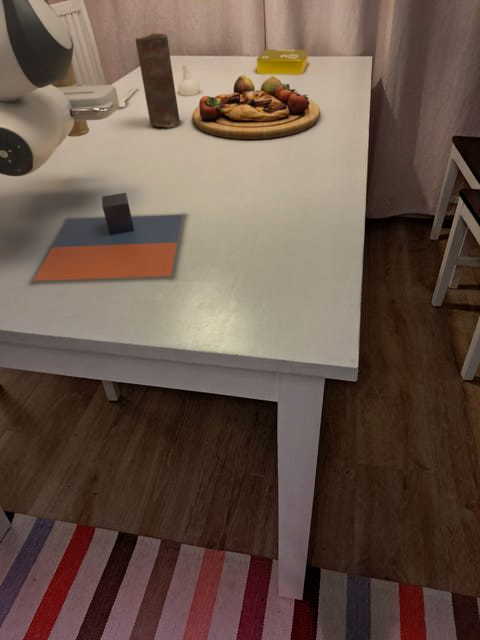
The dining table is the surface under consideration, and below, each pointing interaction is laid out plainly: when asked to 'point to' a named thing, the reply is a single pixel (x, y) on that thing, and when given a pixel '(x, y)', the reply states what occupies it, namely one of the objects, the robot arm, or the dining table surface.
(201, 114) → the wooden plate
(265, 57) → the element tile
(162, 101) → the brown rough pillar
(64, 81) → the sprinkles bottle
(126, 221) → the black block
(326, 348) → the dining table surface
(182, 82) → the garlic bulb
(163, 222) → the sorting board
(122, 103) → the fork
